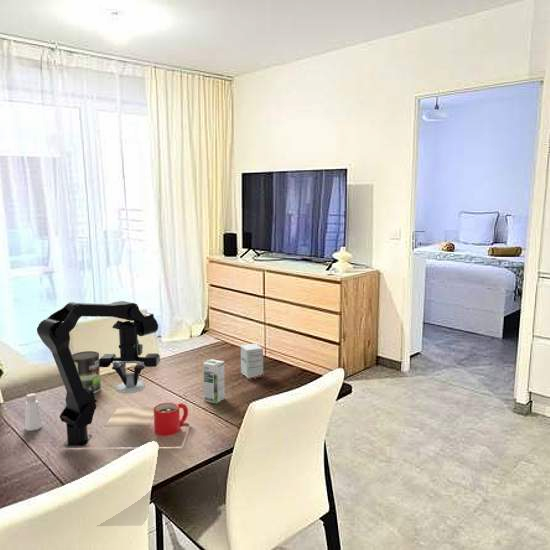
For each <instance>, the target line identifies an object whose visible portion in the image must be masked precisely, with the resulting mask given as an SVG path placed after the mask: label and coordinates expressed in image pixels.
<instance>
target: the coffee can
mask: <svg viewBox="0 0 550 550" xmlns="http://www.w3.org/2000/svg"><path fill="white" fill-rule="evenodd" d="M71 355H72V357H73V360H74V363H75V366H76V368H77V371H78V374H79V376H80V379H81V382H82V384H83V387H85V388H87V389H90V390H92V391H93V392H94V394H96V393H99V392H100V391H101V390H102V386H101V385H102V384H101V371H100V370H101V369H100V368H101V367H99V359H100V353H99V352H98V351H91V350H90V351H89V350H88V351H79V352H75V353H74V354H71Z"/></svg>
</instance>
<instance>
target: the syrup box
mask: <svg viewBox="0 0 550 550" xmlns="http://www.w3.org/2000/svg"><path fill="white" fill-rule="evenodd" d="M202 368H203V371H202V374H203V402H207V403H210V404H211V403H212V404H215V405H217V404H218V402H219V403H220V402H222V401H223V400H224V399H226V397H225V396H226V394H225V392H226V391H225V383H226V382H225V361H224V360H218V359H217V360H216V359H214V358H213V359H212V358H211V359H209V360H208V359H207V360H206V361H205V362H203V363H202ZM221 400H222V401H221Z"/></svg>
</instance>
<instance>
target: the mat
mask: <svg viewBox="0 0 550 550" xmlns="http://www.w3.org/2000/svg"><path fill="white" fill-rule="evenodd" d="M154 407H155V406H154ZM154 407H153V406H150V407H149V406H148V407H147V406H146V407H144V406H143V407H142V406H141V407H139V406H138V407H137V406H136V407H132V406H131V407H127V406H125V407H117V408H116V409H115V411H114V412H113V413H112V415H111V417H110V418H109V419H108V421H107V422H106V423H105V425H104V427H149V425H150V424H151V421H152V420H153V419H154Z"/></svg>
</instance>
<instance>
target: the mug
mask: <svg viewBox="0 0 550 550" xmlns="http://www.w3.org/2000/svg"><path fill="white" fill-rule="evenodd" d="M180 409H182V410H183V413H182V414H183V415H182V416H181V418H180ZM188 415H189V409H188V405H186V404H185V403H181V402H180V403H174V402H163V403H159V404H157V405H155V406H154V416H153V427H154V434H156V435H159V436H163V437H164V436H171V435H175V434H177V433H178V432H179V431H180V429H181V425H183V423H185V422H186V420H187V418H188Z"/></svg>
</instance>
